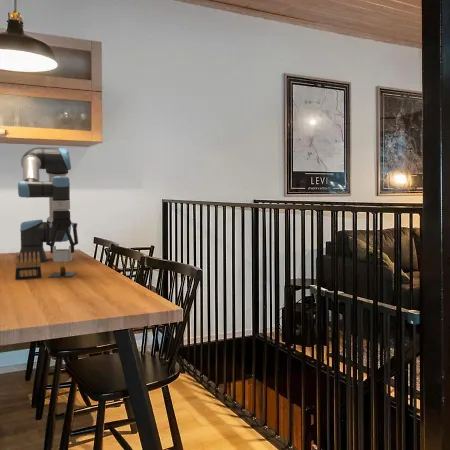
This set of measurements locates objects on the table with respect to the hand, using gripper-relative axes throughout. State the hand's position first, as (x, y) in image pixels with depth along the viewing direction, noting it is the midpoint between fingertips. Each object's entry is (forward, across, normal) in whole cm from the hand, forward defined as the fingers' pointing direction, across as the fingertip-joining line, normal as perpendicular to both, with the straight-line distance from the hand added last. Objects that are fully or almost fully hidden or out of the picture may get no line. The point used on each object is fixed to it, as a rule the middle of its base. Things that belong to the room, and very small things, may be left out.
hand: (62, 260), depth 218 cm
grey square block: (0, 0, 0) cm, 0 cm away
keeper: (+7, 0, 0) cm, 7 cm away
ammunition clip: (+7, -14, -6) cm, 17 cm away
